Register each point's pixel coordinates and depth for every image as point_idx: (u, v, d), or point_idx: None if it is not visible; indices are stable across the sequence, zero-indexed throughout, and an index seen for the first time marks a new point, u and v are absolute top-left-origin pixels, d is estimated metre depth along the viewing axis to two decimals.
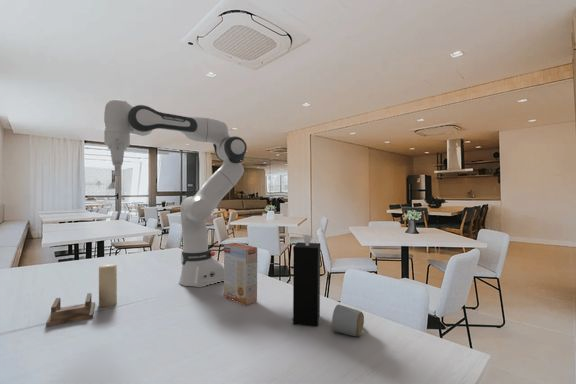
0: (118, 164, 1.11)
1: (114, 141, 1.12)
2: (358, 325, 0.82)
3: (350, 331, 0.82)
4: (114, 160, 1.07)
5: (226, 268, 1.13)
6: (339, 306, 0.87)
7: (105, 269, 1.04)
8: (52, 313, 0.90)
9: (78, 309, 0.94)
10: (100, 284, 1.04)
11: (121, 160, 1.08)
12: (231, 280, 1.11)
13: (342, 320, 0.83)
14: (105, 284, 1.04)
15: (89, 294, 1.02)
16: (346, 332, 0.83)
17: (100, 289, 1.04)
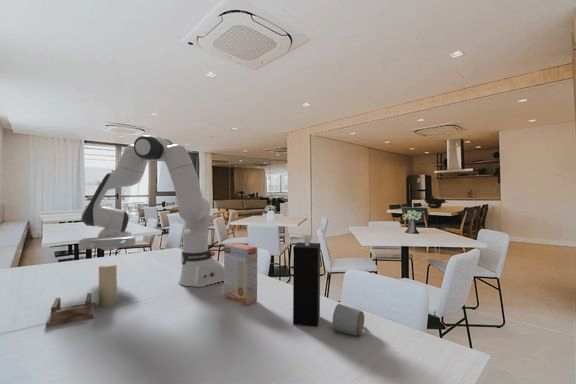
0: (89, 244, 1.17)
1: None
2: (358, 324, 0.82)
3: (350, 330, 0.83)
4: (79, 247, 1.16)
5: (226, 268, 1.13)
6: (339, 305, 0.88)
7: (105, 269, 1.04)
8: (52, 313, 0.90)
9: (78, 309, 0.94)
10: (100, 284, 1.04)
11: (79, 242, 1.16)
12: (231, 280, 1.11)
13: (342, 319, 0.84)
14: (105, 284, 1.04)
15: (89, 294, 1.02)
16: (346, 331, 0.84)
17: (100, 289, 1.04)
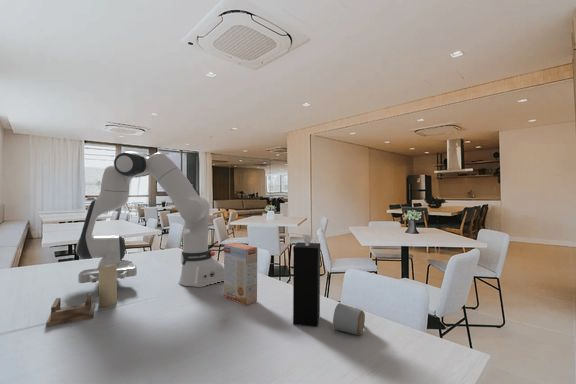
0: (89, 277, 1.13)
1: None
2: (359, 323, 0.83)
3: (351, 329, 0.83)
4: (79, 281, 1.12)
5: (226, 268, 1.13)
6: (340, 305, 0.88)
7: (105, 269, 1.04)
8: (52, 313, 0.90)
9: (78, 309, 0.94)
10: (100, 284, 1.04)
11: (79, 275, 1.12)
12: (231, 280, 1.11)
13: (343, 318, 0.84)
14: (105, 284, 1.04)
15: (89, 294, 1.02)
16: (347, 330, 0.84)
17: (100, 289, 1.04)
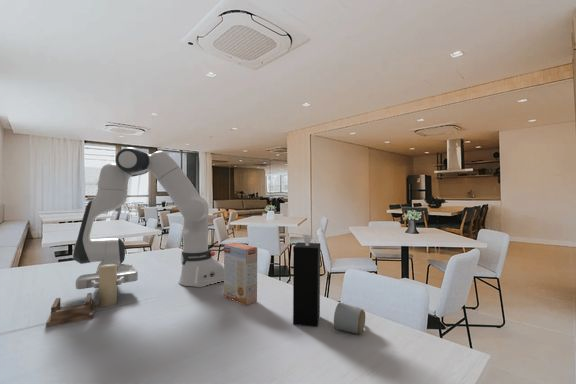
0: (91, 282, 1.06)
1: None
2: (359, 323, 0.83)
3: (351, 329, 0.84)
4: (76, 287, 1.05)
5: (226, 268, 1.13)
6: (341, 304, 0.89)
7: (105, 269, 1.04)
8: (52, 313, 0.90)
9: (78, 309, 0.94)
10: (100, 284, 1.04)
11: (76, 281, 1.05)
12: (231, 280, 1.11)
13: (344, 318, 0.85)
14: (105, 284, 1.04)
15: (89, 294, 1.02)
16: (348, 329, 0.85)
17: (100, 289, 1.04)
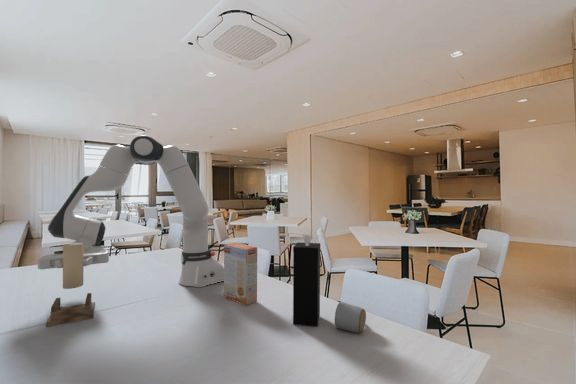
0: (54, 262, 0.97)
1: None
2: (360, 322, 0.84)
3: (352, 328, 0.85)
4: (38, 267, 0.96)
5: (226, 268, 1.13)
6: (341, 303, 0.89)
7: (69, 247, 0.95)
8: (52, 313, 0.90)
9: (78, 309, 0.94)
10: (64, 264, 0.95)
11: (38, 260, 0.96)
12: (231, 280, 1.11)
13: (344, 317, 0.86)
14: (69, 263, 0.95)
15: (89, 294, 1.02)
16: (348, 328, 0.86)
17: (64, 269, 0.95)
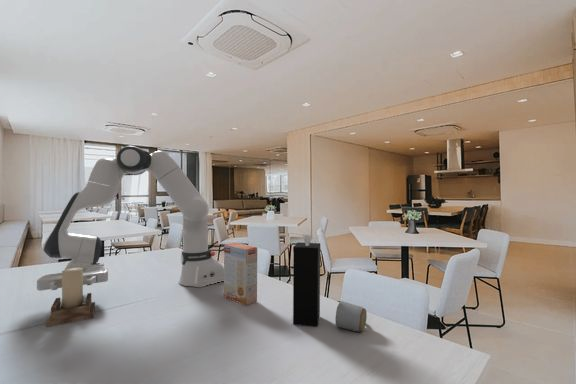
0: (49, 284, 0.96)
1: None
2: (361, 321, 0.84)
3: (353, 327, 0.85)
4: (37, 288, 0.96)
5: (226, 268, 1.13)
6: (342, 302, 0.90)
7: (68, 273, 0.94)
8: (52, 313, 0.90)
9: (78, 309, 0.94)
10: (63, 290, 0.94)
11: (37, 281, 0.96)
12: (231, 280, 1.11)
13: (345, 316, 0.86)
14: (69, 290, 0.94)
15: (89, 294, 1.02)
16: (349, 328, 0.86)
17: (63, 295, 0.94)
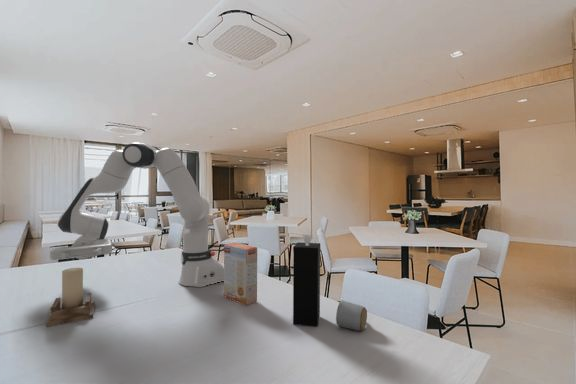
0: (61, 254, 1.10)
1: None
2: (361, 320, 0.85)
3: (353, 326, 0.86)
4: (51, 258, 1.10)
5: (226, 268, 1.13)
6: (343, 302, 0.90)
7: (69, 273, 0.94)
8: (52, 313, 0.90)
9: (78, 309, 0.94)
10: (63, 290, 0.94)
11: (50, 252, 1.10)
12: (231, 280, 1.11)
13: (346, 315, 0.87)
14: (69, 290, 0.94)
15: (89, 294, 1.02)
16: (350, 327, 0.87)
17: (63, 295, 0.94)
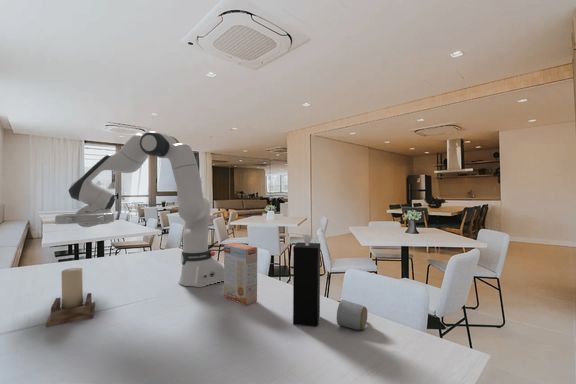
0: (65, 219, 1.15)
1: None
2: (362, 319, 0.85)
3: (354, 325, 0.86)
4: (56, 222, 1.14)
5: (226, 268, 1.13)
6: (343, 301, 0.91)
7: (68, 273, 0.94)
8: (52, 313, 0.90)
9: (78, 309, 0.94)
10: (63, 290, 0.94)
11: (55, 216, 1.14)
12: (231, 280, 1.11)
13: (346, 314, 0.87)
14: (69, 290, 0.94)
15: (89, 294, 1.02)
16: (350, 326, 0.87)
17: (63, 295, 0.94)
